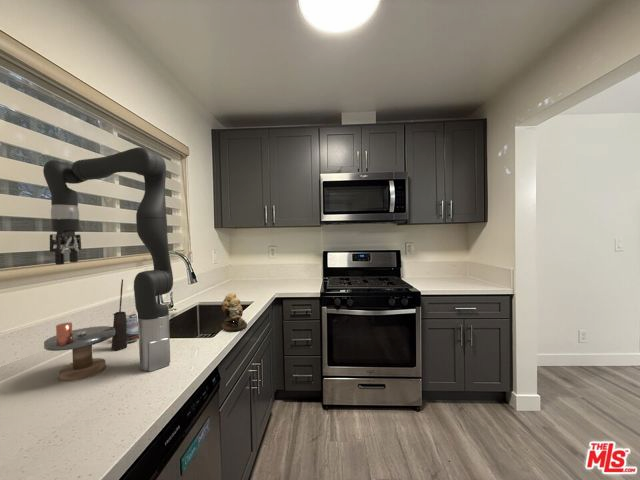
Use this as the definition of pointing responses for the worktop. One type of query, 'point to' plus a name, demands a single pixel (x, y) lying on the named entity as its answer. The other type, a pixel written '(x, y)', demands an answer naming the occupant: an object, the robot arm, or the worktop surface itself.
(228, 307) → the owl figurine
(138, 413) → the worktop surface
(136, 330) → the beverage can
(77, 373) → the wheel stand
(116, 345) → the butter churn
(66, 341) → the grey disc with knob
